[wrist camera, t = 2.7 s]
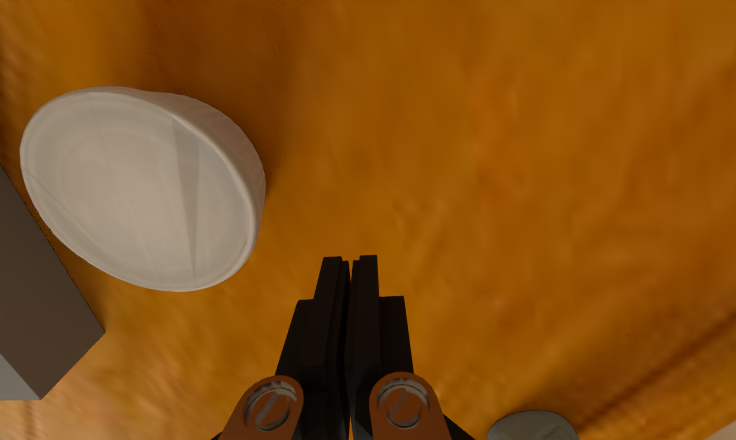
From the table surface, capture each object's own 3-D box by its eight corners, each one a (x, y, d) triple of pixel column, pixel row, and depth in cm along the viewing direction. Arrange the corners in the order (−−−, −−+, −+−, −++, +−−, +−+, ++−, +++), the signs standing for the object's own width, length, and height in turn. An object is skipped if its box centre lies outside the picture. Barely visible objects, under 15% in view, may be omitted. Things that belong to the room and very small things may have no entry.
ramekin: (311, 216, 22) (293, 261, 17) (179, 263, 24) (132, 315, 19) (216, 41, 17) (155, 40, 12) (63, 122, 19) (-38, 145, 15)
